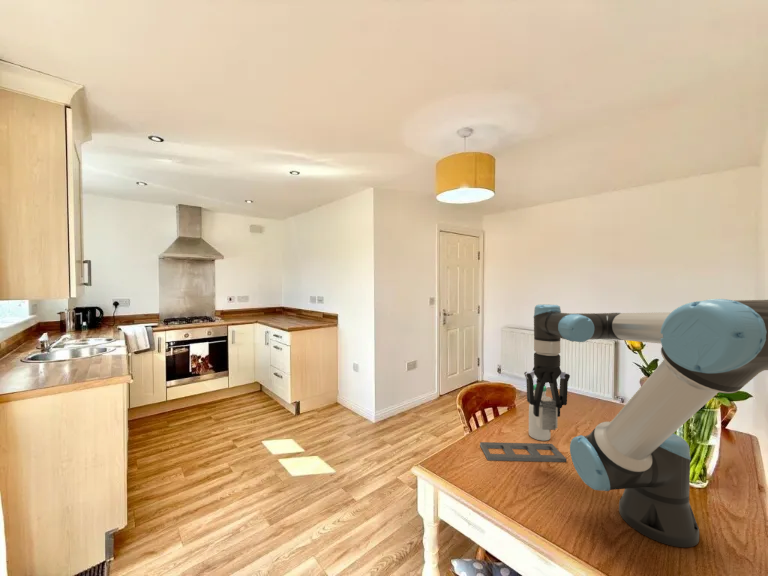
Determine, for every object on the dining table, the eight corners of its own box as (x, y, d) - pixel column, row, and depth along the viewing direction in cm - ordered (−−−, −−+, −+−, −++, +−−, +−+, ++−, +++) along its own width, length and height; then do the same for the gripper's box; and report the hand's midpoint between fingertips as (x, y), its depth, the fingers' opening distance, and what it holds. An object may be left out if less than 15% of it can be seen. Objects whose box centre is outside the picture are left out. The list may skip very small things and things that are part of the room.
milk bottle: (548, 443, 120) (548, 390, 119) (526, 437, 124) (526, 386, 124) (552, 435, 126) (552, 385, 126) (531, 430, 130) (531, 381, 130)
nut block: (555, 429, 100) (555, 401, 100) (542, 429, 101) (542, 401, 100) (549, 424, 104) (549, 396, 104) (537, 424, 105) (537, 396, 104)
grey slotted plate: (566, 462, 107) (566, 458, 107) (487, 460, 108) (487, 456, 108) (551, 446, 117) (551, 443, 117) (480, 445, 118) (480, 442, 118)
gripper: (568, 350, 105) (567, 421, 105) (515, 350, 106) (515, 420, 106) (581, 355, 98) (580, 432, 98) (524, 355, 99) (524, 431, 99)
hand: (546, 426), depth 102 cm, fingers closed on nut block, 4 cm apart
